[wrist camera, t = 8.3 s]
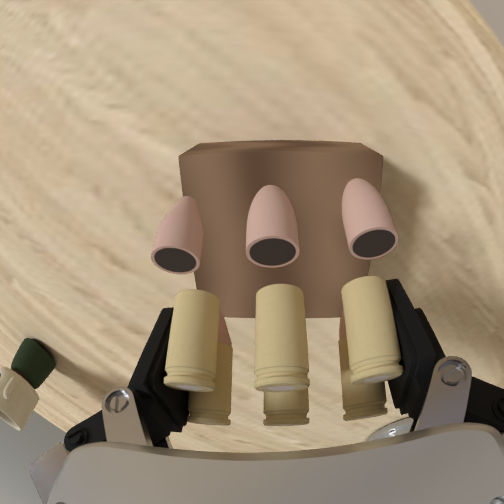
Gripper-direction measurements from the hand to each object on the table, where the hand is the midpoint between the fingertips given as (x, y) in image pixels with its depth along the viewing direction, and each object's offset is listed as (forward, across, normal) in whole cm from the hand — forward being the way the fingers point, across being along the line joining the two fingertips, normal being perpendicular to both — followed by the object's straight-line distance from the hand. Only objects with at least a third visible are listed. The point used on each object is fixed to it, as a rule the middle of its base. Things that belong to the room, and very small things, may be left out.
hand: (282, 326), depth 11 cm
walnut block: (+12, 0, 0) cm, 12 cm away
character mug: (+12, +37, +14) cm, 41 cm away
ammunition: (+1, 0, -1) cm, 2 cm away
